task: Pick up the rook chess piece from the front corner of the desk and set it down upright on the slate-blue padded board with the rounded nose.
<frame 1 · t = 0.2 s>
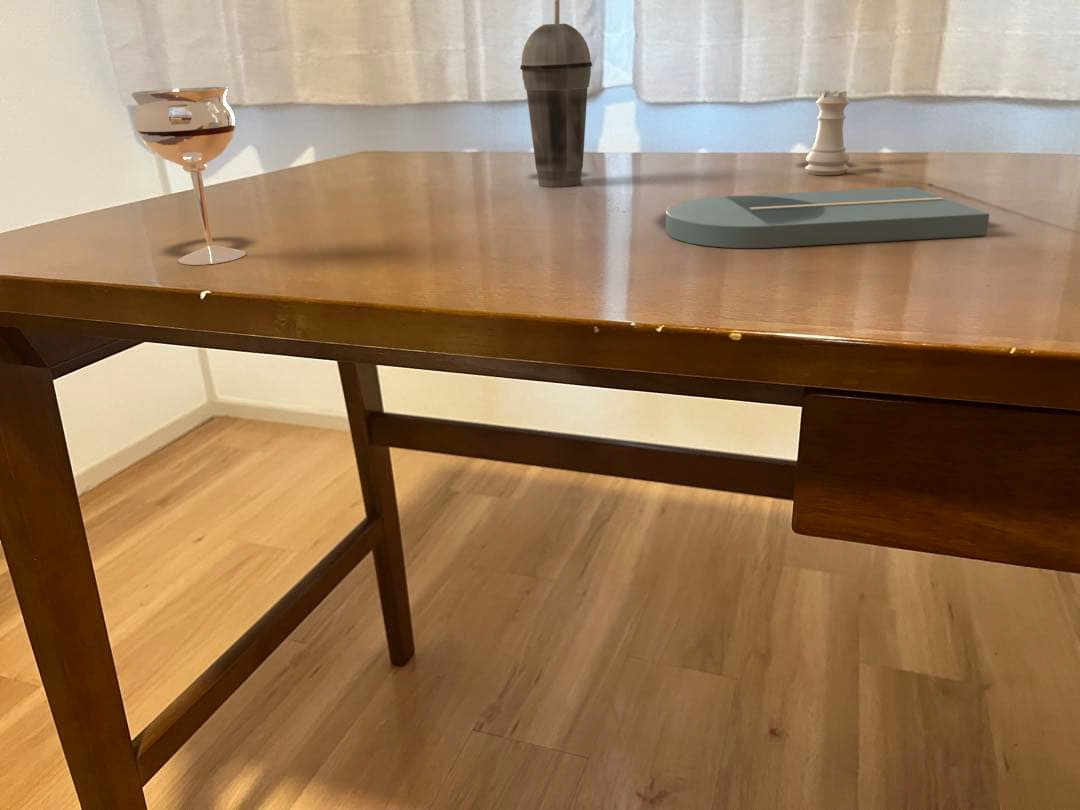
wineglass: (212, 259, 66), on the table
beverage cup: (559, 185, 91), on the table
board: (819, 226, 67), on the table
rook chess piece: (826, 174, 90), on the table
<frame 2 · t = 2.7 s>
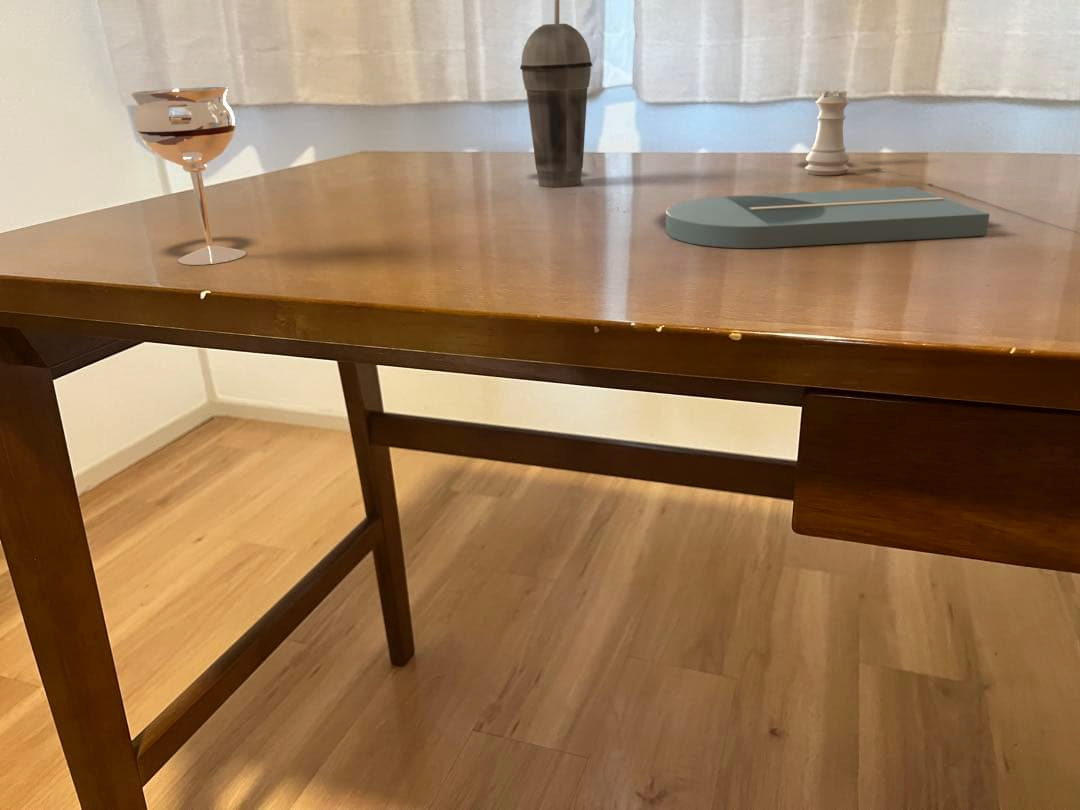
nothing on the table moved.
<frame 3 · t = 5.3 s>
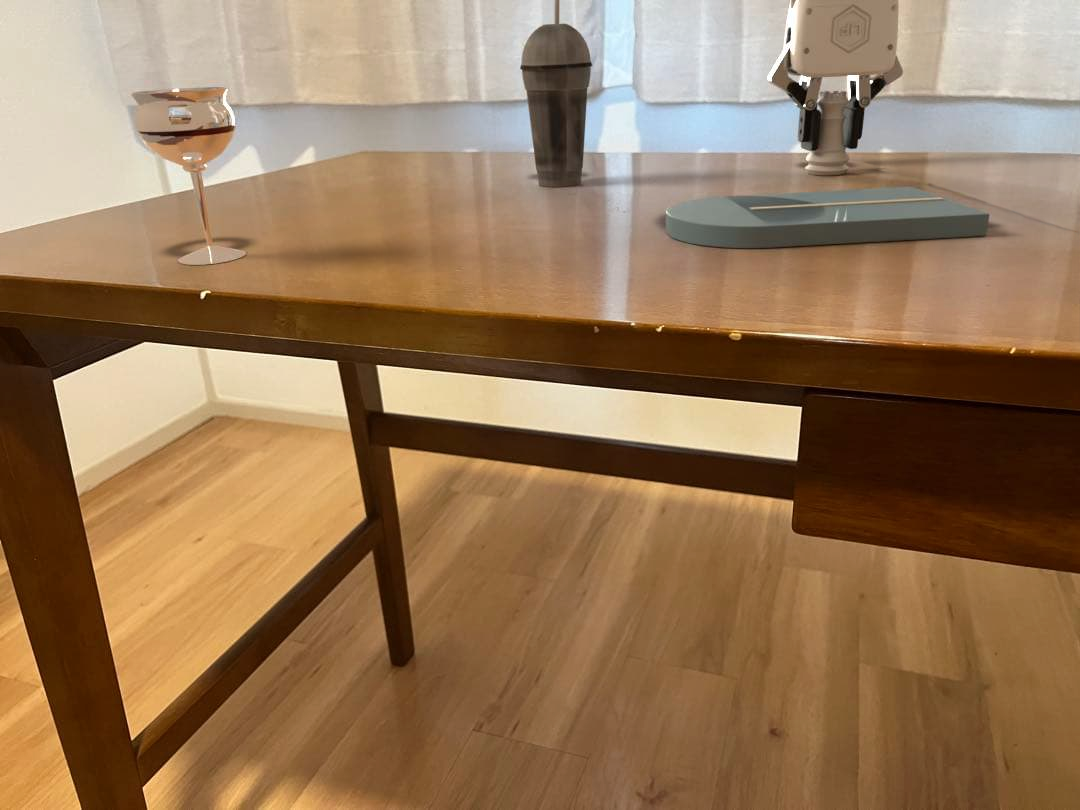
hand: (828, 146, 89), 3 cm above the table, tool pointing down, fingers closed on rook chess piece, 3 cm apart
rook chess piece: (826, 174, 90), on the table, touching gripper
everything else where it was.
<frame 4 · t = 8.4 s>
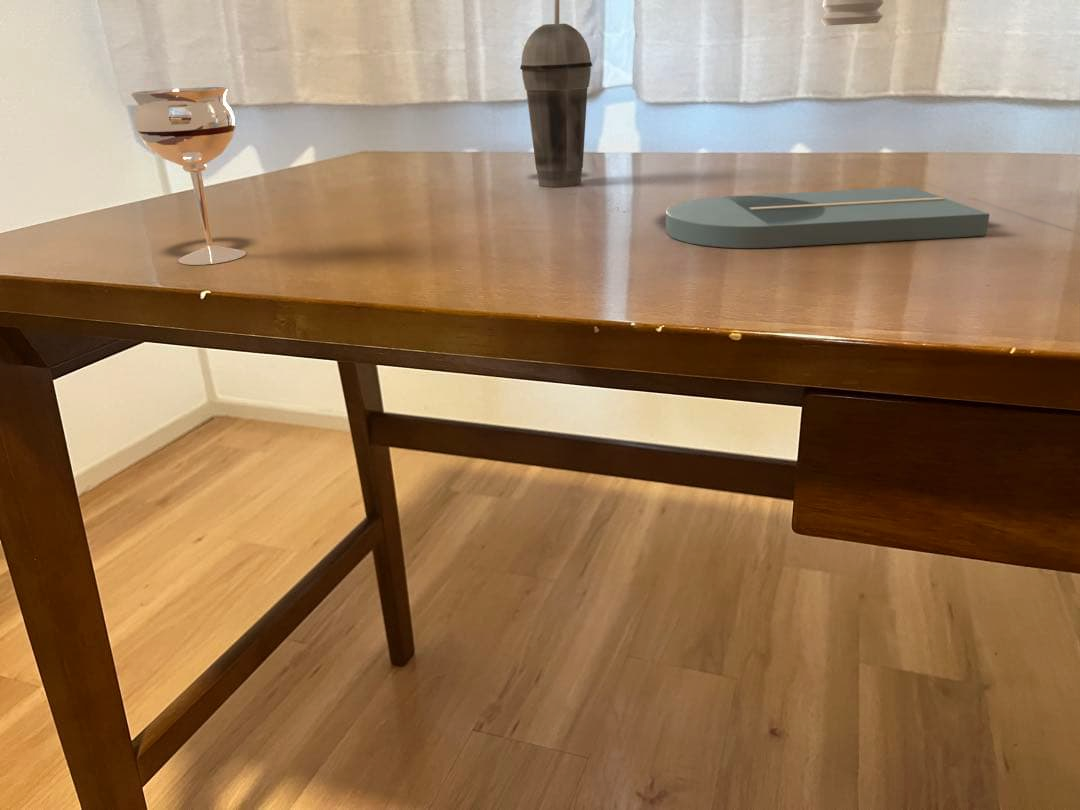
rook chess piece: (850, 27, 65), point 14 cm above the table, touching gripper
everything else where it was.
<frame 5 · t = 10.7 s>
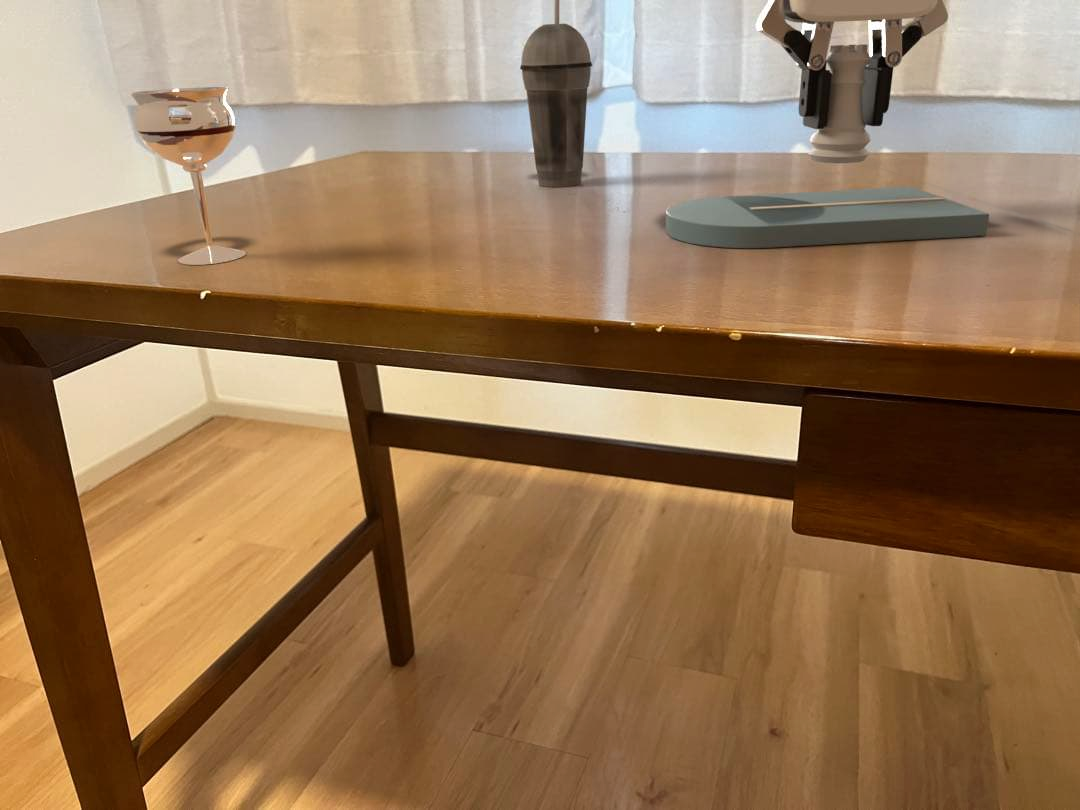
hand: (841, 123, 64), 8 cm above the table, tool pointing down, fingers closed on rook chess piece, 3 cm apart
rook chess piece: (837, 162, 65), point 5 cm above the table, touching gripper
everything else where it was.
when the fingers open (4 cm above the table, at t = 11.9 s): rook chess piece stays where it is, resting on board.
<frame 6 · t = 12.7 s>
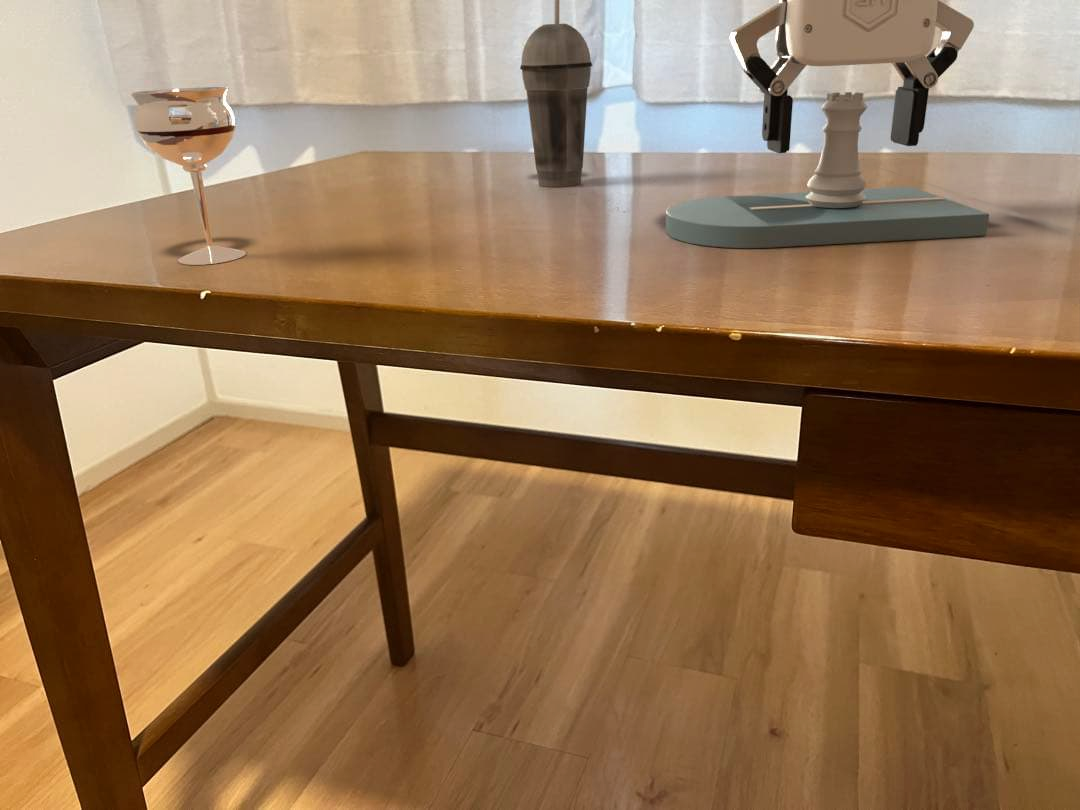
hand: (840, 147, 64), 6 cm above the table, tool pointing down, fingers open, 9 cm apart
rook chess piece: (834, 206, 66), point 2 cm above the table, touching board
everything else where it was.
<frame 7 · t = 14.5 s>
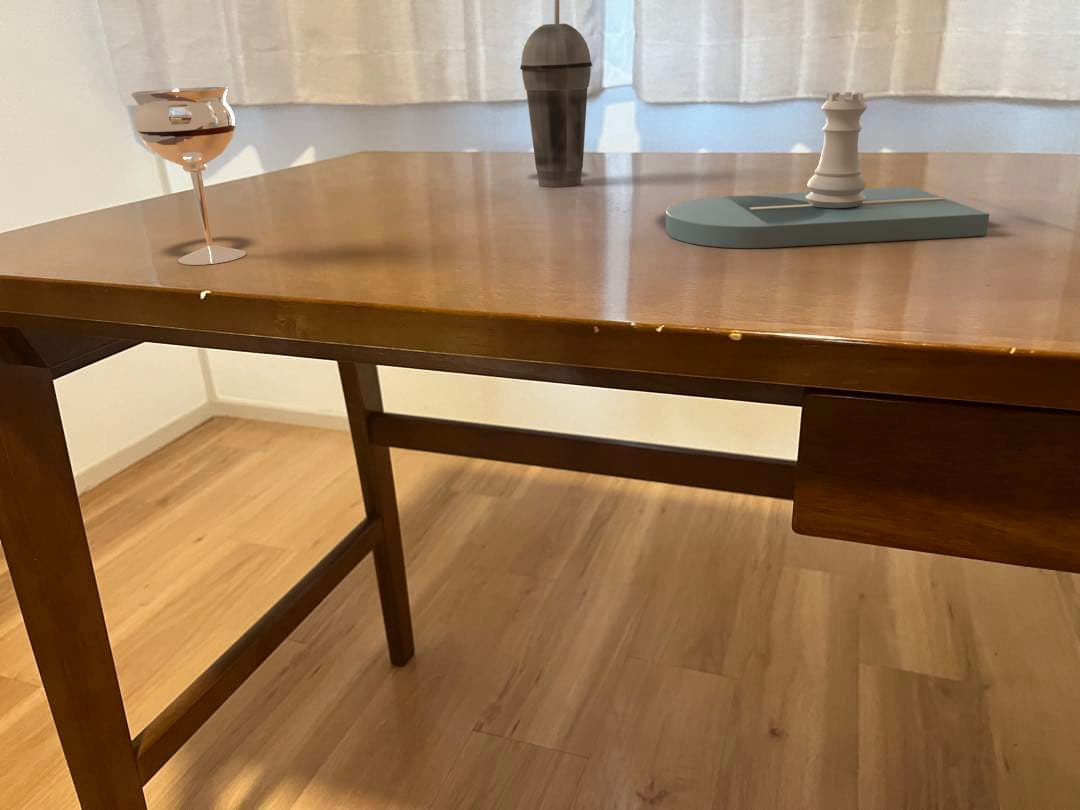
nothing on the table moved.
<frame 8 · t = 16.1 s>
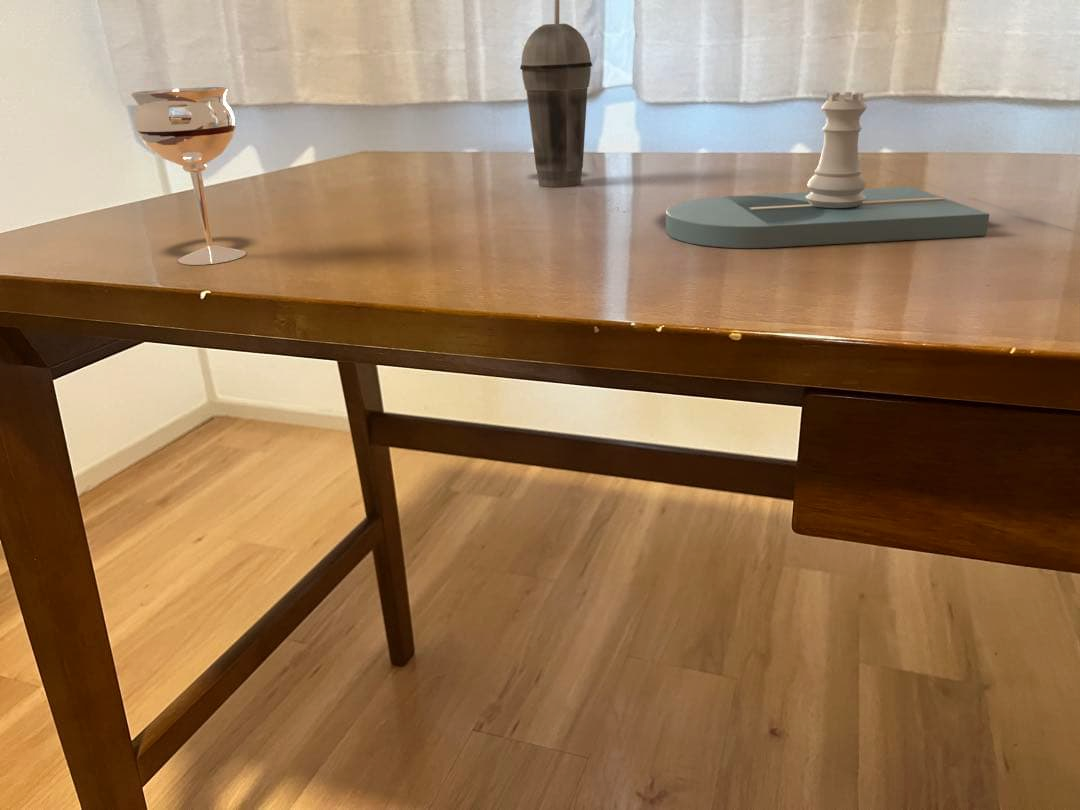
nothing on the table moved.
at the end: rook chess piece inside the target area on the board (1.1 cm from its centre), point 1.5 cm above the board's base; rook chess piece tilted 0°; the gripper is holding nothing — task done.
